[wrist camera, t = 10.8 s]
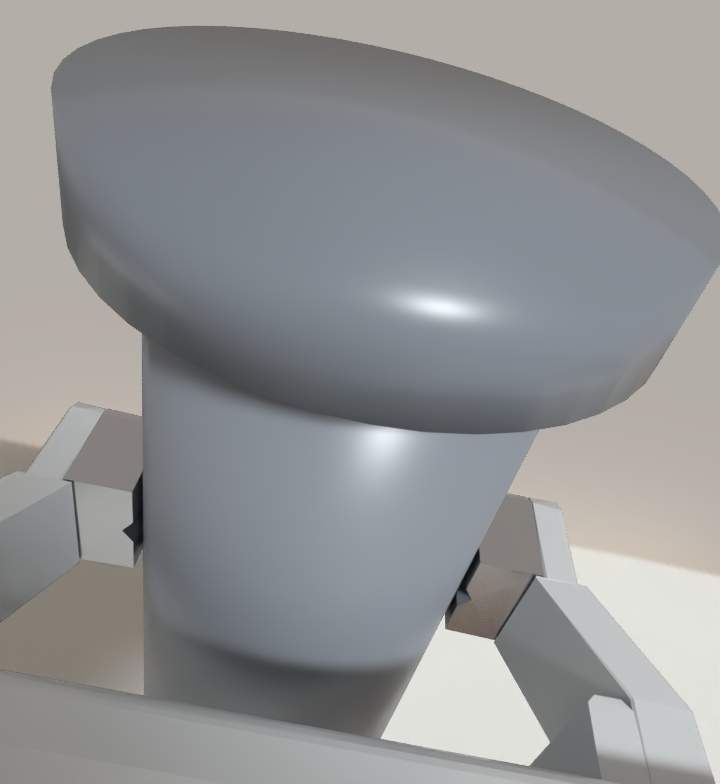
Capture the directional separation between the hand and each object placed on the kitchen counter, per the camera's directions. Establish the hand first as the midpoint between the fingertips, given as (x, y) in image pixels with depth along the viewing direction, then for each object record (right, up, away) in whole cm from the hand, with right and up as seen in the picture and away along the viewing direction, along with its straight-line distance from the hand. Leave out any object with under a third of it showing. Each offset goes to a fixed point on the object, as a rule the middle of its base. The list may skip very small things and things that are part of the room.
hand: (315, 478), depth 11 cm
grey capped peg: (-2, -7, +5) cm, 9 cm away
